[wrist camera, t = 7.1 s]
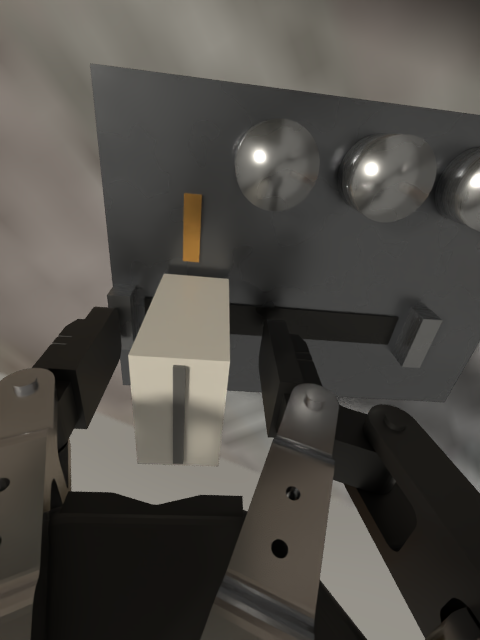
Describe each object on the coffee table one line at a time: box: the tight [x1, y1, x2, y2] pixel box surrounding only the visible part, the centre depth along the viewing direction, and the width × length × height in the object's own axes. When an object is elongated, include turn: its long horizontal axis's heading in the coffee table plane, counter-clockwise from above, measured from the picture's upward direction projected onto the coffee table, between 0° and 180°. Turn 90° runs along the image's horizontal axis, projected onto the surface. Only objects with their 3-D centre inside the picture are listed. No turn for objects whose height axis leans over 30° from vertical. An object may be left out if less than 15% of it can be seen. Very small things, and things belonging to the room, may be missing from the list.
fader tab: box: [128, 274, 230, 466], centre depth 11 cm, size 2×4×5 cm, turn 174°
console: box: [90, 63, 480, 402], centre depth 13 cm, size 16×12×4 cm
